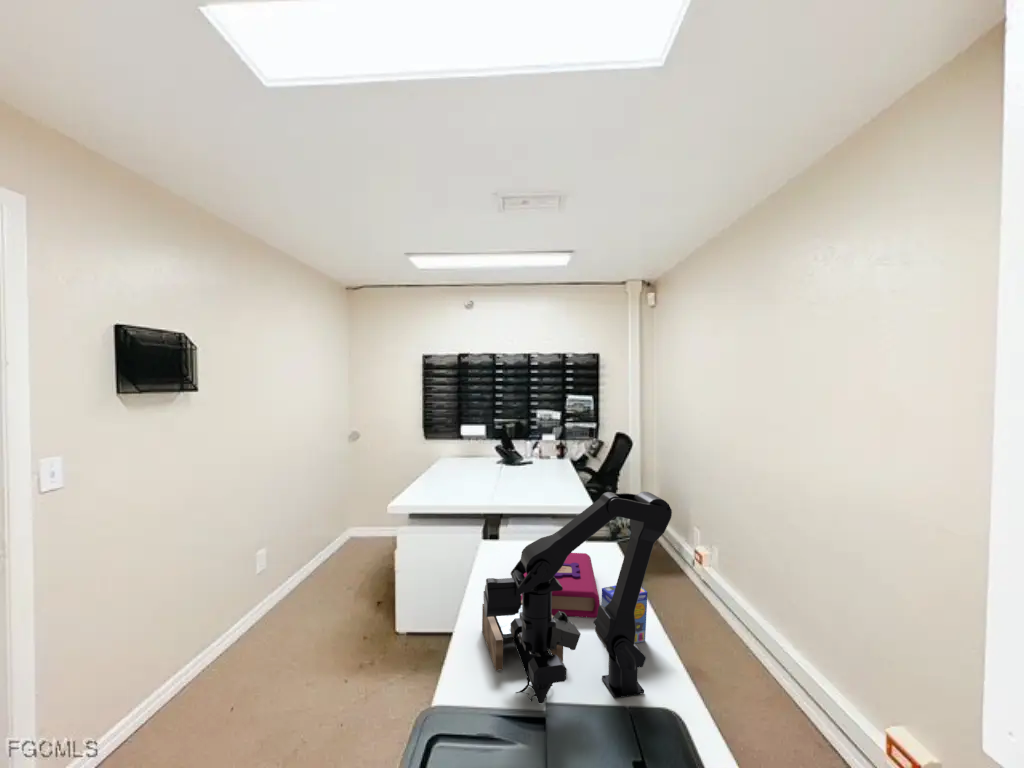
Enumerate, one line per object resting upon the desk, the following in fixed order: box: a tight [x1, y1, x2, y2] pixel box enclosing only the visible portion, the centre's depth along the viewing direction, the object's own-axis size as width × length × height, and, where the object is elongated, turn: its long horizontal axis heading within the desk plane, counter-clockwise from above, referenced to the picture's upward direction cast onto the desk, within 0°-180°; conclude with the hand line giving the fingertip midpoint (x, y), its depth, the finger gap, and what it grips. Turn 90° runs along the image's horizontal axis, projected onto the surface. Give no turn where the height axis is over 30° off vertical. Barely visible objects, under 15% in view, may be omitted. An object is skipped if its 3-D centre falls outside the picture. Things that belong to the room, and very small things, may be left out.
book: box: [521, 552, 601, 619], centre depth 141 cm, size 21×28×8 cm
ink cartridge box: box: [600, 584, 648, 644], centre depth 117 cm, size 10×6×14 cm, turn 111°
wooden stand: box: [481, 600, 564, 672], centre depth 114 cm, size 16×15×6 cm
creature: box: [515, 676, 554, 702], centre depth 96 cm, size 8×5×8 cm
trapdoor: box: [495, 605, 522, 639], centre depth 113 cm, size 12×11×1 cm
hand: (535, 690), depth 96 cm, fingers closed on creature, 7 cm apart
